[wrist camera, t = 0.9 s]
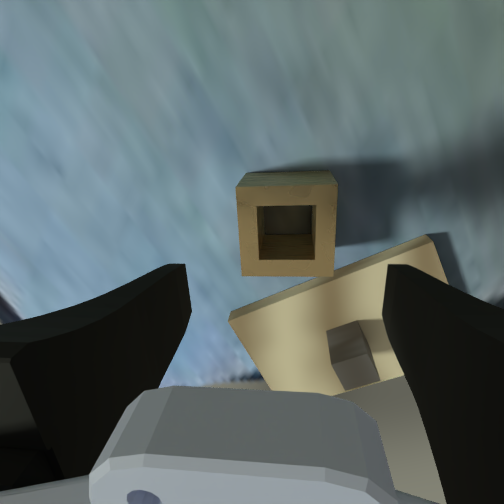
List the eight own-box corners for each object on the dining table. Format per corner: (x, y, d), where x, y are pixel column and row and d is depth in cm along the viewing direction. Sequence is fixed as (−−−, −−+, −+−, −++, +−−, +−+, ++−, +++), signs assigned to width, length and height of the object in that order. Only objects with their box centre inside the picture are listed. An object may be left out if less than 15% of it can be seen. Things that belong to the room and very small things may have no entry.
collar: (329, 170, 20) (338, 184, 16) (326, 248, 22) (333, 276, 18) (245, 173, 20) (235, 187, 17) (250, 248, 22) (241, 276, 18)
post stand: (425, 234, 20) (458, 265, 16) (465, 343, 23) (502, 394, 19) (230, 311, 24) (218, 352, 20) (284, 397, 27) (282, 448, 23)
